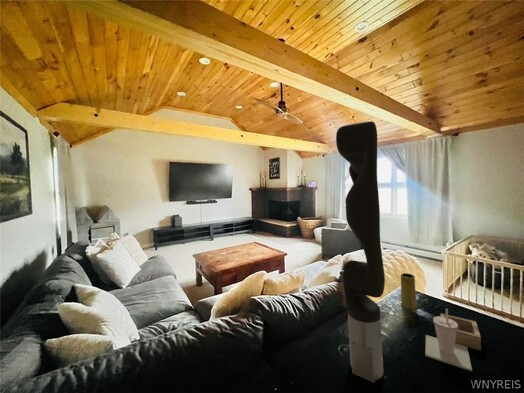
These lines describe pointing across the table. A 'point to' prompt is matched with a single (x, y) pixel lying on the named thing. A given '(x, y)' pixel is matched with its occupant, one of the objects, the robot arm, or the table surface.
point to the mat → (456, 359)
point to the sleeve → (466, 332)
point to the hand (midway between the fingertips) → (366, 246)
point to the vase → (408, 291)
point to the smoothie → (445, 333)
